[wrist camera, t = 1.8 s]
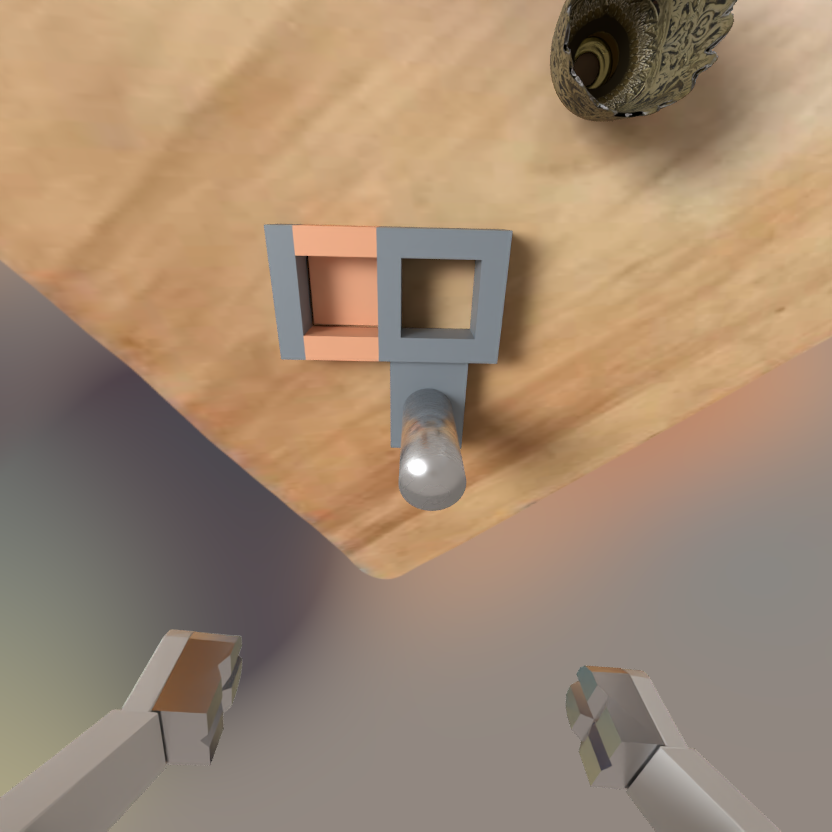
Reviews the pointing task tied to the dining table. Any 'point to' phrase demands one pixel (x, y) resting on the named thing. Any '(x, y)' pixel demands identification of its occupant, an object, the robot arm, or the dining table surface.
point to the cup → (635, 53)
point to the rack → (385, 303)
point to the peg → (430, 452)
